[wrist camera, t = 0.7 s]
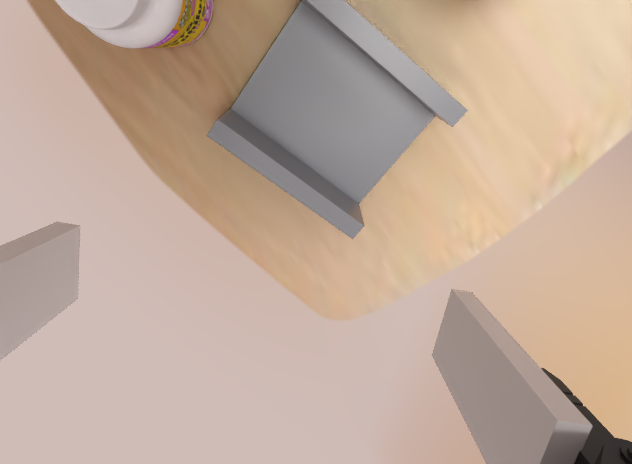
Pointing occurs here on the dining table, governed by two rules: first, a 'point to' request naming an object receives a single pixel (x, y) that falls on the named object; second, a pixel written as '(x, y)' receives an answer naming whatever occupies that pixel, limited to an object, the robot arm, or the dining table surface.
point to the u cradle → (331, 110)
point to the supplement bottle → (142, 20)
